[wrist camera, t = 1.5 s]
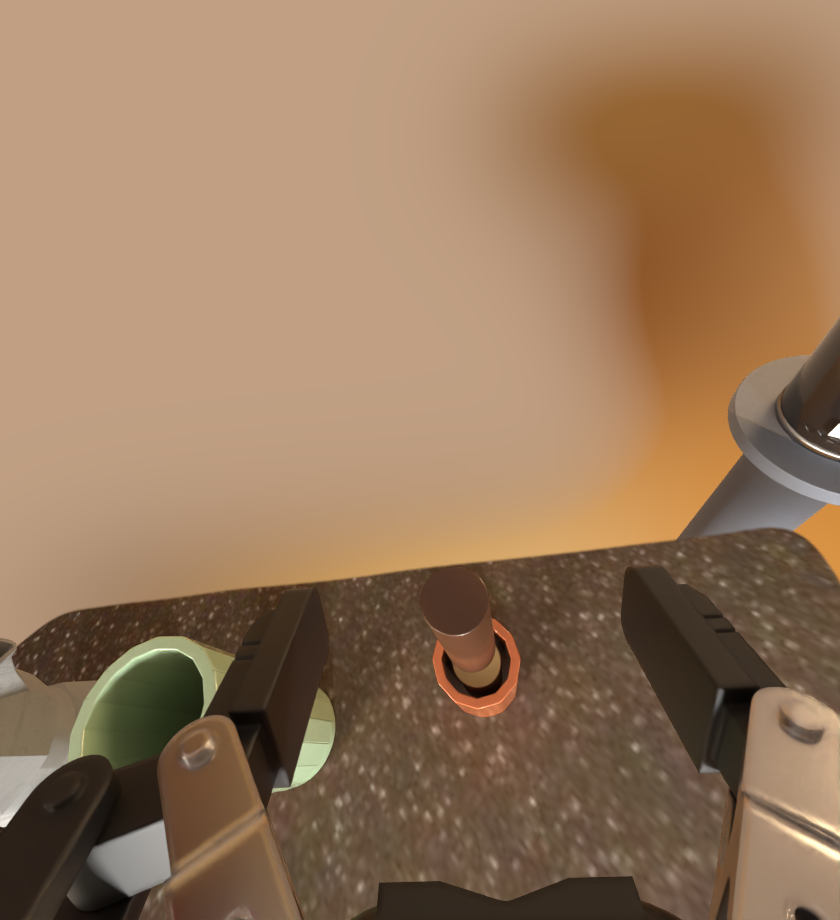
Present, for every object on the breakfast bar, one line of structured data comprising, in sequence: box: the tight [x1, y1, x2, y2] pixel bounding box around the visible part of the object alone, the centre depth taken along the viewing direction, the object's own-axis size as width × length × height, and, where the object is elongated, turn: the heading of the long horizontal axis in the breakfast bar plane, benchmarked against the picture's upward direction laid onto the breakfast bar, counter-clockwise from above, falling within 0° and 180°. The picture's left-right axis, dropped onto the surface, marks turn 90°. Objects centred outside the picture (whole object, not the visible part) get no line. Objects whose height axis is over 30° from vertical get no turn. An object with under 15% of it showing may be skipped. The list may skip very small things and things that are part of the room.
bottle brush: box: [420, 567, 503, 698], centre depth 22 cm, size 3×3×18 cm
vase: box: [68, 636, 335, 792], centre depth 24 cm, size 6×6×15 cm
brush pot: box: [433, 619, 520, 717], centre depth 27 cm, size 5×5×7 cm
